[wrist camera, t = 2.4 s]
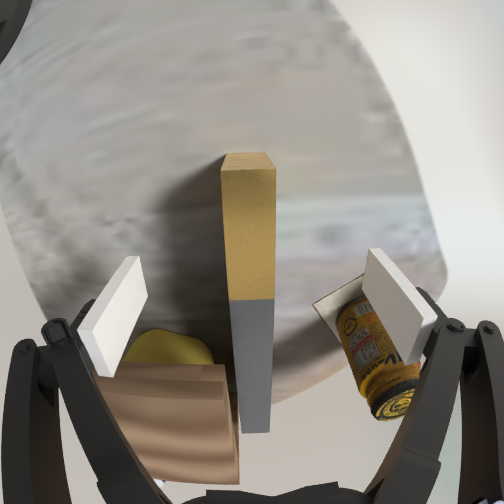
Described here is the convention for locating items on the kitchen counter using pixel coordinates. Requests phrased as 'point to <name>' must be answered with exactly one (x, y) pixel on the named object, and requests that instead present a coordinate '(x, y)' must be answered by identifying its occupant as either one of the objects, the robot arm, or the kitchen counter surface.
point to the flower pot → (168, 349)
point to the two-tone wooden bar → (251, 279)
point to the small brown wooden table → (177, 419)
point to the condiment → (370, 351)
